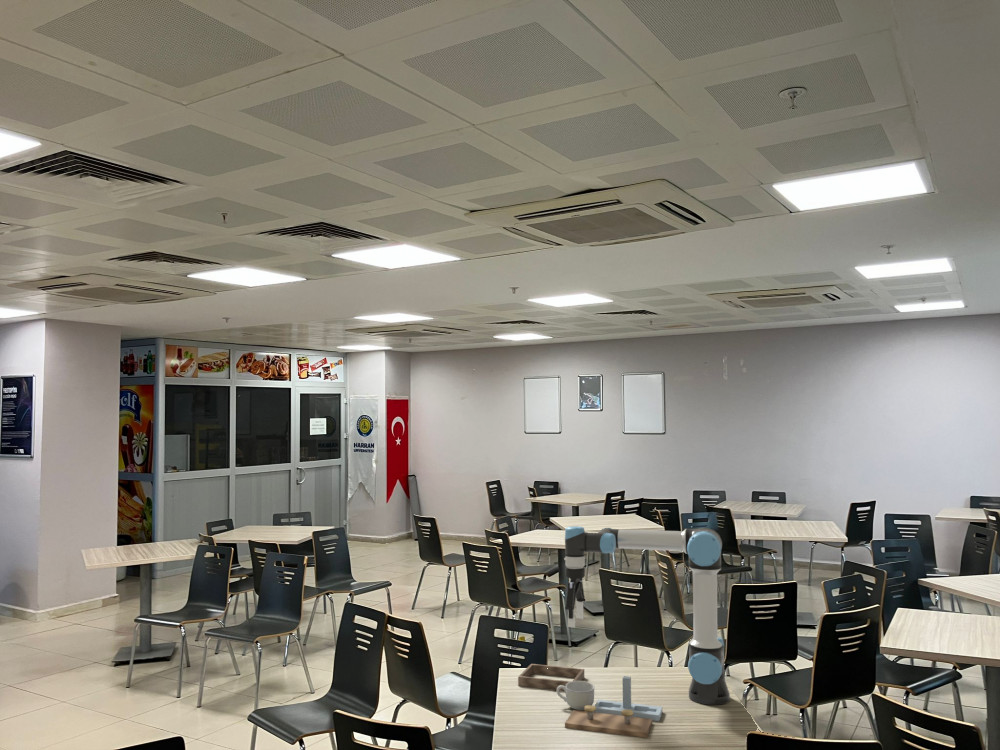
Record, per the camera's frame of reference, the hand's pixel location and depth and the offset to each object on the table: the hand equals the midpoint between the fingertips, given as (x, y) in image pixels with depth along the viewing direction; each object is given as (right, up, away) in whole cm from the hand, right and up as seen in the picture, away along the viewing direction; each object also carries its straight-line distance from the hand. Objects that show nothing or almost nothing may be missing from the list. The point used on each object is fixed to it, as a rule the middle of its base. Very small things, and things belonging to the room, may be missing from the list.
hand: (575, 622), depth 299 cm
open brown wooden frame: (-8, -29, +15) cm, 34 cm away
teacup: (-1, -27, -13) cm, 30 cm away
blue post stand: (+18, -26, -20) cm, 37 cm away
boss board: (+8, -26, -32) cm, 41 cm away
